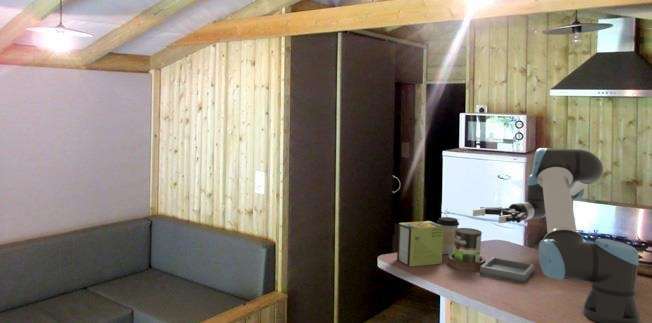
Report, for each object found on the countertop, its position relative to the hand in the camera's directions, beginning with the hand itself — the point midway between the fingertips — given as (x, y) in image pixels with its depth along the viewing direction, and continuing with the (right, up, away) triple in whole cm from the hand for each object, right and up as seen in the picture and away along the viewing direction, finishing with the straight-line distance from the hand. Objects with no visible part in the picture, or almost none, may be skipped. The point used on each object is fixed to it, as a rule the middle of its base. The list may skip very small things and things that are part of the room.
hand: (486, 216), depth 207 cm
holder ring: (-9, -19, -4) cm, 22 cm away
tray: (+4, -21, -13) cm, 24 cm away
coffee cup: (-13, -18, +14) cm, 26 cm away
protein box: (-28, -19, -1) cm, 33 cm away
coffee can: (-9, -19, -4) cm, 22 cm away
